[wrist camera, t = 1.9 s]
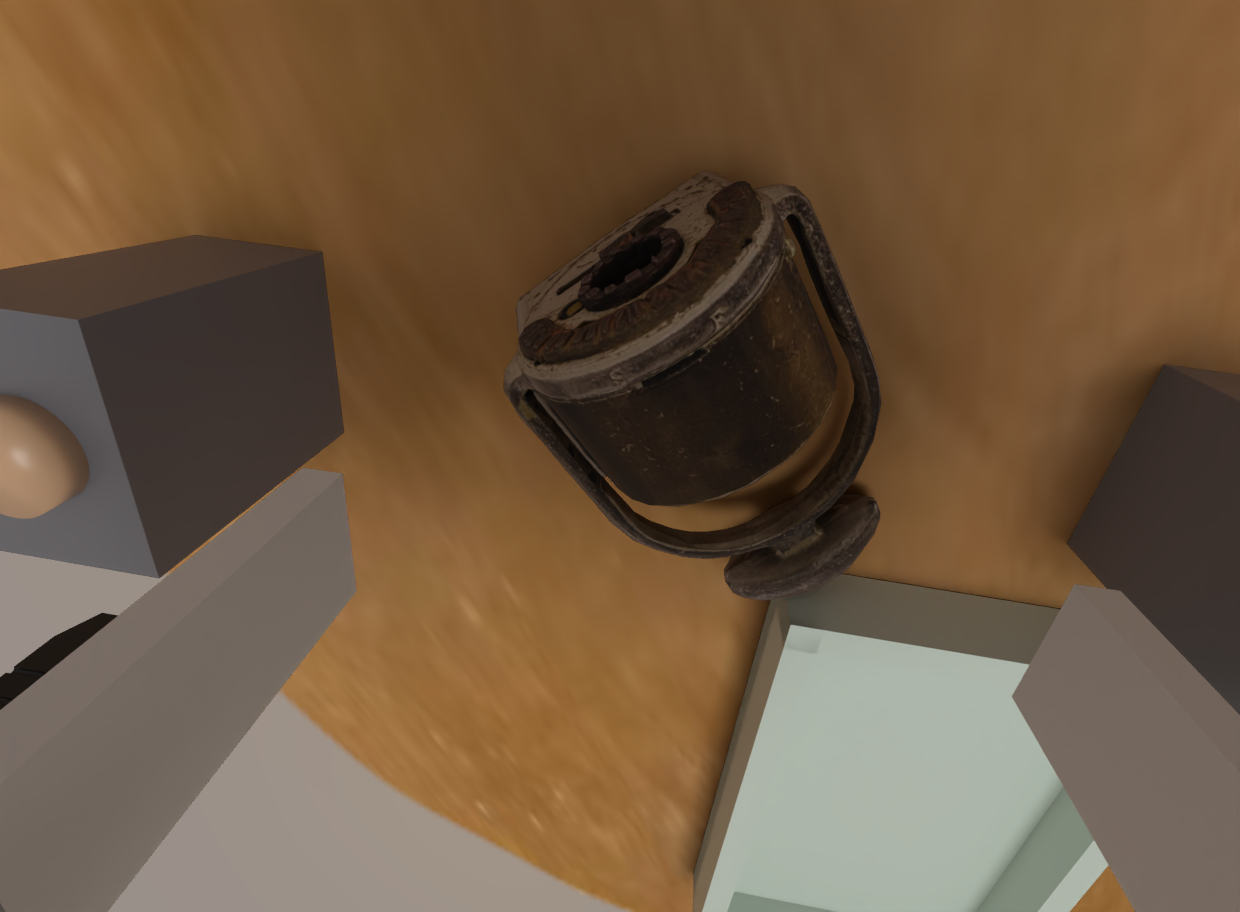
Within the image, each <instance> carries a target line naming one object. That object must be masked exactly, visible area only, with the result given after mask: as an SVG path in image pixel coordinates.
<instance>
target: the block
mask: <svg viewBox="0 0 1240 912" xmlns="http://www.w3.org/2000/svg"><path fill="white" fill-rule="evenodd" d="M1067 544H1068V546H1069V547H1070V548H1071V549H1072V550H1073V551H1074V552H1075V553H1076V555H1077V556H1078V557H1079V558H1080V559H1081V560H1082V561H1083V562H1084V564H1085V565H1086V566H1087V567H1088V568H1089V569H1090V570H1091V571H1092V572H1093V574H1094V575H1095V576H1096V577H1097V578H1098V579H1099V580H1100V581H1101V583H1102V584H1103V585H1104V586H1105V587H1106V588H1107V589H1112V590H1118V591H1121V592H1122V593H1123V594H1124V595H1125V596H1126V597H1127V598H1128V599H1129V600H1130V601H1131V602H1132V603H1133V604H1134V605H1135V606H1136V607H1137V609H1138V610H1139V611H1140V612H1141V613H1142V614H1143V615H1144V616H1145V617H1146V618H1147V619H1148V620H1149V621H1150V622H1151V623H1152V624H1153V625H1154V626H1155V627H1156V628H1157V629H1158V630H1159V631H1160V632H1161V634H1162V635H1163V636H1164V637H1165V638H1166V639H1167V640H1168V641H1169V642H1170V643H1171V644H1172V645H1173V646H1174V647H1175V648H1176V649H1177V650H1178V651H1179V652H1180V653H1181V654H1182V655H1183V656H1184V657H1185V658H1186V660H1187V661H1188V662H1189V663H1190V664H1191V665H1192V666H1193V667H1194V668H1195V669H1196V670H1197V671H1198V672H1199V673H1200V674H1201V675H1202V676H1203V677H1204V678H1205V679H1206V680H1207V681H1208V682H1209V683H1210V685H1211V686H1212V687H1213V688H1214V689H1215V690H1216V691H1217V692H1218V693H1219V694H1220V695H1221V696H1222V697H1223V698H1224V699H1225V700H1226V701H1227V702H1228V703H1229V704H1230V705H1231V706H1232V707H1233V708H1234V710H1235V711H1236V712H1237V713H1238V714H1239V715H1240V374H1233V373H1225V372H1218V371H1210V370H1203V369H1195V368H1188V367H1180V366H1173V365H1165V364H1164V366H1163V368H1162V370H1161V372H1160V373H1159V375H1158V377H1157V379H1156V381H1155V383H1154V384H1153V386H1152V388H1151V390H1150V392H1149V394H1148V395H1147V397H1146V399H1145V401H1144V403H1143V405H1142V406H1141V408H1140V410H1139V412H1138V414H1137V416H1136V418H1135V419H1134V421H1133V423H1132V425H1131V427H1130V429H1129V430H1128V432H1127V434H1126V436H1125V438H1124V440H1123V441H1122V443H1121V445H1120V447H1119V449H1118V451H1117V452H1116V454H1115V456H1114V458H1113V460H1112V462H1111V464H1110V465H1109V467H1108V469H1107V471H1106V473H1105V475H1104V476H1103V478H1102V480H1101V482H1100V484H1099V486H1098V487H1097V489H1096V491H1095V493H1094V495H1093V497H1092V498H1091V500H1090V502H1089V504H1088V506H1087V508H1086V509H1085V511H1084V513H1083V515H1082V517H1081V519H1080V521H1079V522H1078V524H1077V526H1076V528H1075V530H1074V532H1073V533H1072V535H1071V537H1070V539H1069V541H1068V543H1067Z"/></svg>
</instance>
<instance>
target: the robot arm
mask: <svg viewBox="0 0 1240 912" xmlns="http://www.w3.org/2000/svg"><path fill="white" fill-rule="evenodd" d="M355 592H356V582H355V574H354V566H353V557H352V549H351V540H350V532H349V523H348V515H347V506H346V498H345V490H344V481H343V474H341V473H334V472H328V471H321V470H314V469H308V468H302V469H301V470H299V471H298V472H297V473H296V474H294V475H293V476H292V477H291V478H289V479H288V480H287V481H286V482H284V483H283V484H282V485H281V486H279V487H278V488H277V489H276V490H274V491H273V492H272V493H271V494H269V495H268V496H267V497H266V498H264V499H263V500H262V501H261V502H259V503H258V504H257V505H256V506H254V507H253V508H252V509H251V510H249V511H248V512H247V513H246V514H244V515H243V516H242V517H241V518H239V519H238V520H237V521H236V522H234V523H233V524H232V525H231V526H229V527H228V528H227V529H226V530H224V531H223V532H222V533H221V534H219V535H218V536H217V537H216V538H214V539H213V540H212V541H211V542H209V543H208V544H207V545H206V546H205V547H203V548H202V549H201V550H200V551H198V552H197V553H196V554H195V555H193V556H192V557H191V558H190V559H188V560H187V561H186V562H185V563H183V564H182V565H181V566H180V567H178V568H177V569H176V570H175V571H173V572H172V573H171V574H170V575H168V576H167V577H166V578H165V579H163V580H162V581H161V582H160V583H158V584H157V585H156V586H155V587H153V588H152V589H151V590H150V591H148V592H147V593H146V594H145V595H143V596H142V597H141V598H140V599H138V600H137V601H136V602H135V603H134V604H132V605H131V606H130V607H128V608H127V609H126V610H125V611H123V612H122V613H121V614H120V615H112V614H106V613H101V614H99V615H97V616H95V617H93V618H91V619H89V620H87V621H85V622H83V623H80V624H78V625H76V626H75V627H72V628H70V629H68V630H66V631H64V632H62V633H60V634H58V635H56V636H54V637H53V638H52V639H50V640H49V641H48V642H46V643H45V644H44V645H42V646H41V647H40V648H38V649H37V650H36V651H34V652H33V653H32V654H31V655H29V656H28V657H26V658H25V659H24V660H22V661H21V662H20V663H18V664H17V665H16V666H14V671H13V672H12V673H5V674H4V675H2V676H1V677H0V912H108V910H109V909H110V908H111V907H112V905H113V904H114V903H115V901H116V900H117V899H118V897H119V896H120V895H121V894H122V892H123V891H124V890H125V889H126V887H127V886H128V885H129V883H130V882H131V881H132V879H133V878H134V877H135V875H136V874H137V873H138V872H139V871H140V869H141V868H142V866H143V865H144V864H145V863H146V861H147V860H148V859H149V858H150V856H151V855H152V854H153V852H154V851H155V850H156V849H157V847H158V846H159V845H160V843H161V842H162V841H163V840H164V838H165V837H166V836H167V834H168V833H169V832H170V830H171V829H172V828H173V827H174V825H175V824H176V823H177V822H178V820H179V819H180V818H181V816H182V815H183V814H184V813H185V811H186V810H187V809H188V807H189V806H190V805H191V804H192V802H193V801H194V799H195V798H196V797H197V796H198V795H199V793H200V792H201V791H202V789H203V788H204V787H205V785H206V784H207V783H208V782H209V780H210V779H211V778H212V776H213V775H214V774H215V772H216V771H217V770H218V769H219V767H220V766H221V764H223V762H224V761H225V760H226V758H227V757H228V756H229V755H230V753H231V752H232V751H233V749H234V748H235V747H236V746H237V744H238V743H239V742H240V740H241V739H242V738H243V736H244V735H245V734H246V733H247V731H248V730H249V729H250V728H251V726H252V725H253V724H254V722H255V721H256V720H257V718H258V717H259V716H260V714H261V713H262V712H263V711H264V709H265V708H266V707H267V706H268V704H269V703H270V702H271V700H272V699H273V698H274V697H275V695H276V694H277V693H278V691H279V690H280V689H281V688H282V686H283V685H284V684H285V682H286V681H287V680H288V679H289V677H290V676H291V675H292V673H293V672H294V671H295V670H296V668H297V667H298V666H299V664H300V663H301V662H302V661H303V659H304V658H305V657H306V655H307V654H308V653H309V652H310V650H311V649H312V648H313V646H314V645H315V644H316V642H317V641H318V640H319V639H320V637H321V636H322V635H323V633H324V632H325V631H326V630H327V628H328V627H329V626H330V624H331V623H332V622H333V621H334V619H335V618H336V617H337V615H338V614H339V613H340V612H341V610H342V609H343V608H344V606H345V605H346V604H347V603H348V601H349V600H350V599H351V597H352V596H353V595H354V594H355ZM1012 698H1013V700H1014V701H1015V703H1016V705H1017V707H1018V708H1019V710H1020V712H1021V714H1022V715H1023V717H1024V719H1025V721H1026V722H1027V724H1028V726H1029V728H1030V729H1031V731H1032V733H1033V735H1034V736H1035V738H1036V740H1037V741H1038V743H1039V745H1040V747H1041V748H1042V750H1043V752H1044V754H1045V755H1046V757H1047V759H1048V761H1049V762H1050V764H1051V766H1052V768H1053V769H1054V771H1055V773H1056V775H1057V776H1058V778H1059V780H1060V781H1061V783H1062V785H1063V787H1064V788H1065V790H1066V792H1067V794H1068V795H1069V797H1070V799H1071V801H1072V802H1073V804H1074V806H1075V808H1076V809H1077V811H1078V813H1079V815H1080V816H1081V818H1082V820H1083V821H1084V823H1085V825H1086V827H1087V828H1088V830H1089V832H1090V834H1091V835H1092V837H1093V839H1094V841H1095V842H1096V844H1097V846H1098V848H1099V849H1100V851H1101V853H1102V855H1103V856H1104V858H1105V860H1106V862H1107V863H1108V865H1109V867H1110V868H1111V870H1112V872H1113V874H1114V875H1115V877H1116V879H1117V881H1118V882H1119V884H1120V886H1121V888H1122V889H1123V891H1124V893H1125V895H1126V896H1127V898H1128V900H1129V902H1130V903H1131V905H1132V907H1133V908H1134V910H1135V912H1240V715H1239V714H1238V713H1237V712H1236V711H1235V710H1234V708H1233V707H1232V706H1231V705H1230V704H1229V703H1228V702H1227V701H1226V700H1225V699H1224V698H1223V697H1222V696H1221V695H1220V694H1219V693H1218V692H1217V691H1216V690H1215V689H1214V688H1213V687H1212V686H1211V685H1210V683H1209V682H1208V681H1207V680H1206V679H1205V678H1204V677H1203V676H1202V675H1201V674H1200V673H1199V672H1198V671H1197V670H1196V669H1195V668H1194V667H1193V666H1192V665H1191V664H1190V663H1189V662H1188V661H1187V660H1186V658H1185V657H1184V656H1183V655H1182V654H1181V653H1180V652H1179V651H1178V650H1177V649H1176V648H1175V647H1174V646H1173V645H1172V644H1171V643H1170V642H1169V641H1168V640H1167V639H1166V638H1165V637H1164V636H1163V635H1162V634H1161V632H1160V631H1159V630H1158V629H1157V628H1156V627H1155V626H1154V625H1153V624H1152V623H1151V622H1150V621H1149V620H1148V619H1147V618H1146V617H1145V616H1144V615H1143V614H1142V613H1141V612H1140V611H1139V610H1138V609H1137V607H1136V606H1135V605H1134V604H1133V603H1132V602H1131V601H1130V600H1129V599H1128V598H1127V597H1126V596H1125V595H1124V594H1123V593H1122V592H1121V591H1118V590H1112V589H1105V588H1098V587H1092V586H1085V585H1078V584H1074V586H1073V588H1072V590H1071V591H1070V593H1069V595H1068V597H1067V599H1066V600H1065V602H1064V604H1063V606H1062V608H1061V609H1060V611H1059V613H1058V615H1057V616H1056V618H1055V620H1054V622H1053V624H1052V625H1051V627H1050V629H1049V631H1048V633H1047V634H1046V636H1045V638H1044V640H1043V641H1042V643H1041V645H1040V647H1039V649H1038V650H1037V652H1036V654H1035V656H1034V658H1033V659H1032V661H1031V663H1030V665H1029V667H1028V668H1027V670H1026V672H1025V674H1024V675H1023V677H1022V679H1021V681H1020V683H1019V684H1018V686H1017V688H1016V690H1015V692H1014V693H1013V695H1012Z"/></svg>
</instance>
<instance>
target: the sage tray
mask: <svg viewBox="0 0 1240 912" xmlns="http://www.w3.org/2000/svg"><path fill="white" fill-rule="evenodd" d="M1059 611H1060V609H1056V608H1049V607H1043V606H1037V605H1031V604H1025V603H1018V602H1012V601H1006V600H1000V599H994V598H987V597H981V596H975V595H969V594H962V593H956V592H950V591H944V590H938V589H931V588H925V587H919V586H913V585H907V584H900V583H894V582H888V581H882V580H876V579H869V578H863V577H857V576H851V575H845V574H841V575H839V576H838V577H836V578H835V579H833V580H832V581H830V582H828V583H827V584H825V585H824V586H822V587H821V588H819V589H817V590H814V591H810V592H807V593H804V594H800V595H797V596H794V597H790V598H781V599H773V600H770V603H769V607H768V611H767V614H766V618H765V621H764V625H763V628H762V632H761V635H760V639H759V643H758V646H757V650H756V653H755V657H754V660H753V664H752V667H751V671H750V675H749V678H748V682H747V685H746V689H745V692H744V696H743V699H742V703H741V707H740V710H739V714H738V717H737V721H736V724H735V728H734V731H733V735H732V739H731V742H730V746H729V749H728V753H727V756H726V760H725V763H724V767H723V771H722V774H721V778H720V781H719V785H718V788H717V792H716V795H715V799H714V803H713V806H712V810H711V813H710V817H709V820H708V824H707V828H706V831H705V835H704V838H703V842H702V845H701V849H700V852H699V856H698V860H697V863H696V867H695V870H694V877H693V912H1070V911H1071V909H1072V908H1073V907H1074V906H1075V905H1076V903H1077V902H1078V901H1079V900H1080V899H1081V897H1082V896H1083V895H1084V894H1085V893H1086V891H1087V890H1088V889H1089V888H1090V887H1091V885H1092V884H1093V883H1094V882H1095V881H1096V879H1097V878H1098V877H1099V876H1100V875H1101V873H1102V872H1103V871H1104V870H1105V869H1106V867H1107V866H1108V863H1107V862H1106V860H1105V858H1104V856H1103V855H1102V853H1101V851H1100V849H1099V848H1098V846H1097V844H1096V842H1095V841H1094V839H1093V837H1092V835H1091V834H1090V832H1089V830H1088V828H1087V827H1086V825H1085V823H1084V821H1083V820H1082V818H1081V816H1080V815H1079V813H1078V811H1077V809H1076V808H1075V806H1074V804H1073V802H1072V801H1071V799H1070V797H1069V795H1068V794H1067V792H1066V790H1065V788H1064V787H1063V785H1062V783H1061V781H1060V780H1059V778H1058V776H1057V775H1056V773H1055V771H1054V769H1053V768H1052V766H1051V764H1050V762H1049V761H1048V759H1047V757H1046V755H1045V754H1044V752H1043V750H1042V748H1041V747H1040V745H1039V743H1038V741H1037V740H1036V738H1035V736H1034V735H1033V733H1032V731H1031V729H1030V728H1029V726H1028V724H1027V722H1026V721H1025V719H1024V717H1023V715H1022V714H1021V712H1020V710H1019V708H1018V707H1017V705H1016V703H1015V701H1014V700H1013V698H1012V695H1013V693H1014V692H1015V690H1016V688H1017V686H1018V684H1019V683H1020V681H1021V679H1022V677H1023V675H1024V674H1025V672H1026V670H1027V668H1028V667H1029V665H1030V663H1031V661H1032V659H1033V658H1034V656H1035V654H1036V652H1037V650H1038V649H1039V647H1040V645H1041V643H1042V641H1043V640H1044V638H1045V636H1046V634H1047V633H1048V631H1049V629H1050V627H1051V625H1052V624H1053V622H1054V620H1055V618H1056V616H1057V615H1058V613H1059Z"/></svg>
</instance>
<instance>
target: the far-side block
mask: <svg viewBox="0 0 1240 912" xmlns="http://www.w3.org/2000/svg"><path fill="white" fill-rule="evenodd" d="M343 433H344V428H343V419H342V411H341V403H340V394H339V386H338V378H337V370H336V361H335V353H334V345H333V336H332V328H331V320H330V311H329V303H328V295H327V287H326V278H325V270H324V262H323V253H322V252H319V251H312V250H305V249H297V248H290V247H282V246H275V245H267V244H260V243H252V242H245V241H237V240H230V239H222V238H215V237H207V236H200V235H194V236H188V237H182V238H177V239H171V240H165V241H160V242H154V243H148V244H143V245H137V246H132V247H126V248H120V249H115V250H109V251H103V252H98V253H92V254H86V255H81V256H75V257H69V258H64V259H58V260H52V261H47V262H41V263H35V264H30V265H24V266H19V267H13V268H7V269H2V270H0V551H6V552H11V553H17V554H23V555H29V556H35V557H40V558H46V559H52V560H57V561H63V562H69V563H74V564H81V565H86V566H91V567H98V568H104V569H109V570H114V571H120V572H126V573H131V574H137V575H143V576H149V577H154V578H160V577H162V576H163V575H164V574H165V573H167V572H168V571H169V570H170V569H172V568H173V567H174V566H175V565H177V564H178V563H179V562H181V561H182V560H183V559H184V558H186V557H187V556H188V555H189V554H191V553H192V552H193V551H194V550H196V549H197V548H198V547H200V546H201V545H202V544H203V543H205V542H206V541H207V540H208V539H210V538H211V537H212V536H213V535H215V534H216V533H217V532H219V531H220V530H221V529H222V528H224V527H225V526H226V525H227V524H229V523H230V522H231V521H232V520H234V519H235V518H236V517H238V516H239V515H240V514H241V513H243V512H244V511H245V510H246V509H248V508H249V507H250V506H251V505H253V504H254V503H255V502H257V501H258V500H259V499H260V498H262V497H263V496H264V495H265V494H267V493H268V492H269V491H270V490H272V489H273V488H274V487H276V486H277V485H278V484H279V483H281V482H282V481H283V480H284V479H286V478H287V477H288V476H290V475H291V474H292V473H293V472H295V471H296V470H297V469H298V468H300V467H301V466H302V465H303V464H305V463H306V462H307V461H309V460H310V459H311V458H312V457H314V456H315V455H316V454H317V453H319V452H320V451H321V450H322V449H324V448H325V447H326V446H328V445H329V444H330V443H331V442H333V441H334V440H335V439H336V438H338V437H339V436H340V435H341V434H343Z"/></svg>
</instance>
